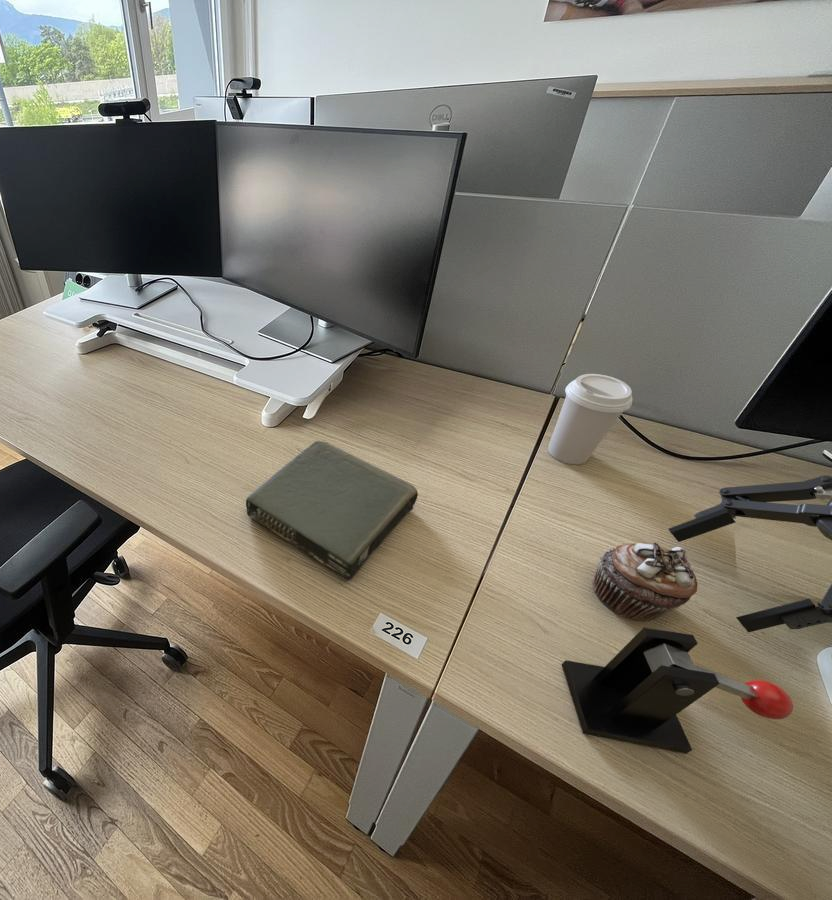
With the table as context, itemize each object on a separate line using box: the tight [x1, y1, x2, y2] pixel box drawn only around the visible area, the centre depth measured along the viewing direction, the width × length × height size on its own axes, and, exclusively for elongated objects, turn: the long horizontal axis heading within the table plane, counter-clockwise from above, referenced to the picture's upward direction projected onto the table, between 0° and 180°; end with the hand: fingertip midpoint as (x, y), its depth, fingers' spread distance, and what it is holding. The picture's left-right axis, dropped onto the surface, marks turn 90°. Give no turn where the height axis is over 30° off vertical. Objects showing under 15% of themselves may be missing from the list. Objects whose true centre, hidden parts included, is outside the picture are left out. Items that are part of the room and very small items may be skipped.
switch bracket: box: [561, 627, 720, 754], centre depth 50 cm, size 10×8×13 cm
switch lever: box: [643, 643, 794, 720], centre depth 47 cm, size 14×4×4 cm, turn 78°
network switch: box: [245, 440, 419, 581], centre depth 79 cm, size 23×24×5 cm
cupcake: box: [592, 542, 699, 622], centre depth 61 cm, size 10×10×10 cm
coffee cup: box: [547, 373, 633, 465], centre depth 83 cm, size 10×10×15 cm
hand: (704, 576), depth 60 cm, fingers open, 13 cm apart
